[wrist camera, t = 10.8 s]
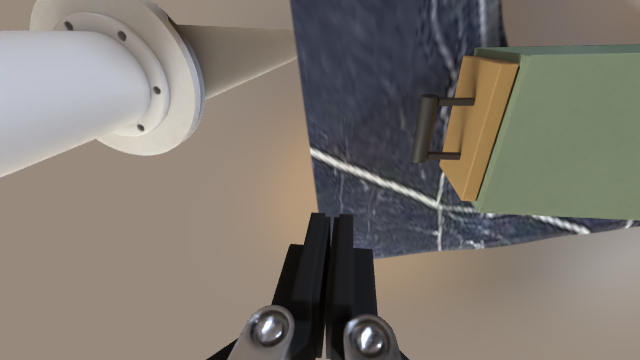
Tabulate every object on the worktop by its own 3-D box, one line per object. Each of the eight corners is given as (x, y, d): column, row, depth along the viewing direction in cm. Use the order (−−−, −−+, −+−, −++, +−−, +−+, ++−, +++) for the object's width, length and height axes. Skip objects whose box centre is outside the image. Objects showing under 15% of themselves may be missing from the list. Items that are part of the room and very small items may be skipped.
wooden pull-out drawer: (400, 164, 30) (412, 198, 24) (415, 56, 25) (436, 64, 19) (568, 169, 28) (629, 208, 22) (626, 52, 23) (729, 60, 17)
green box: (446, 167, 31) (478, 213, 23) (474, 47, 25) (530, 54, 17) (583, 170, 29) (667, 221, 21) (649, 44, 23) (802, 50, 15)
